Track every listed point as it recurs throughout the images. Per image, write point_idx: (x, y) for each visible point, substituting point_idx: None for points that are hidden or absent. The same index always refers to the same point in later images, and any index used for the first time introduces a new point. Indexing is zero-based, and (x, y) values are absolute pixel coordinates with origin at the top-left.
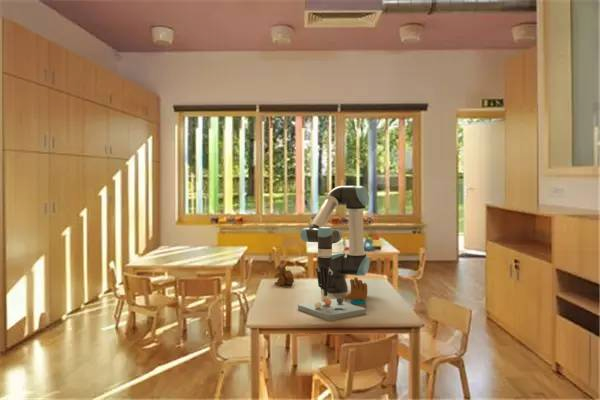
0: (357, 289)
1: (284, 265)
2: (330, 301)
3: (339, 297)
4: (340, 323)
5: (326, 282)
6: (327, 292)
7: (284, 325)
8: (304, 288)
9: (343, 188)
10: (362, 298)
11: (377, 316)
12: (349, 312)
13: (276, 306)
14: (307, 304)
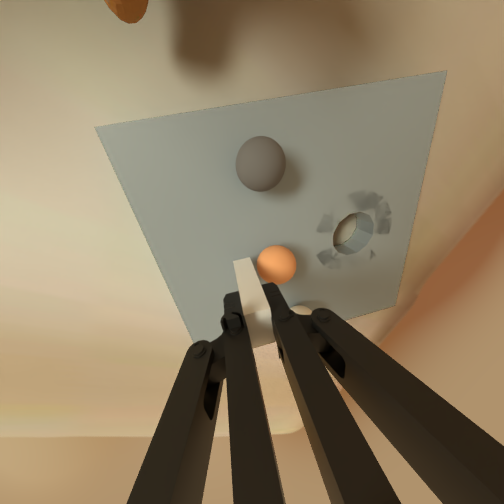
0: None
1: None
2: (295, 259)
3: (272, 174)
4: (422, 272)
5: (362, 407)
6: (283, 298)
7: (340, 389)
8: None
9: None
10: None
11: (487, 56)
12: (413, 209)
13: (132, 395)
14: (211, 331)
